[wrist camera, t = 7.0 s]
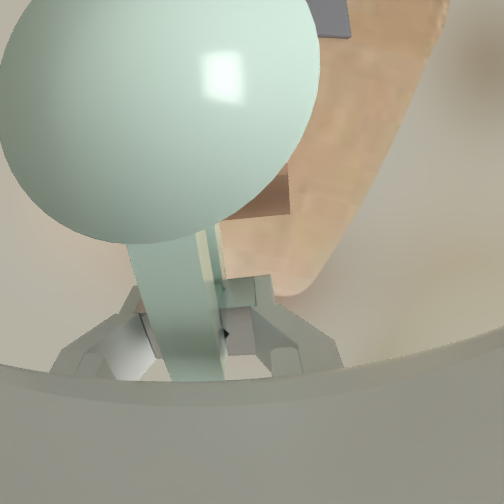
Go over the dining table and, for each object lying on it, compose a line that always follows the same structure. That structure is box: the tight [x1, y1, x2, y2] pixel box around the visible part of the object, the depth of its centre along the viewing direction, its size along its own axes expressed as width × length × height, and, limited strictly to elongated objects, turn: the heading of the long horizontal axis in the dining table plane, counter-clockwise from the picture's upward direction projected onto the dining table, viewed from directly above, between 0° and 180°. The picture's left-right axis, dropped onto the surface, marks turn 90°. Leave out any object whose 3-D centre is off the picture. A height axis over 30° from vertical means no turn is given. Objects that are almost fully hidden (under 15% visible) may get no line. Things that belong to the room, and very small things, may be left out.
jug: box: [0, 0, 320, 382], centre depth 8 cm, size 11×6×9 cm, turn 5°
